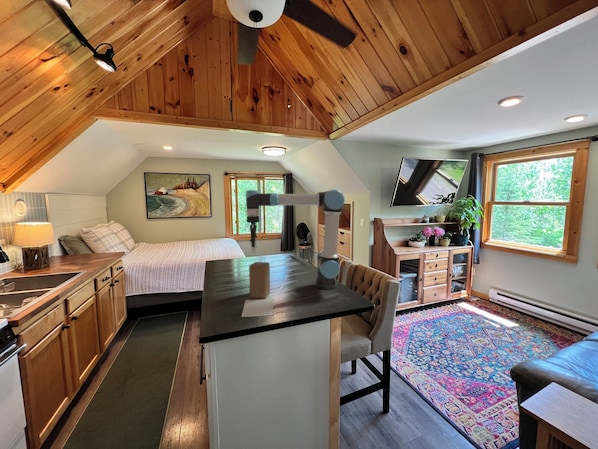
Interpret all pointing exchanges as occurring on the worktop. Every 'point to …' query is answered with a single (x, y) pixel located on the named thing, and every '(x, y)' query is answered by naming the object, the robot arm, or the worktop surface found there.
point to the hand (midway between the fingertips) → (254, 250)
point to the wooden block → (259, 280)
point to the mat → (258, 308)
